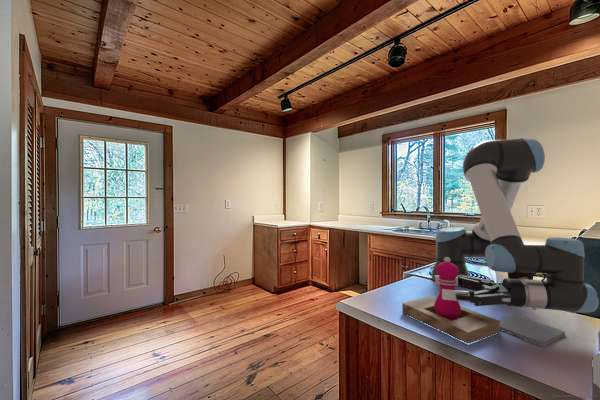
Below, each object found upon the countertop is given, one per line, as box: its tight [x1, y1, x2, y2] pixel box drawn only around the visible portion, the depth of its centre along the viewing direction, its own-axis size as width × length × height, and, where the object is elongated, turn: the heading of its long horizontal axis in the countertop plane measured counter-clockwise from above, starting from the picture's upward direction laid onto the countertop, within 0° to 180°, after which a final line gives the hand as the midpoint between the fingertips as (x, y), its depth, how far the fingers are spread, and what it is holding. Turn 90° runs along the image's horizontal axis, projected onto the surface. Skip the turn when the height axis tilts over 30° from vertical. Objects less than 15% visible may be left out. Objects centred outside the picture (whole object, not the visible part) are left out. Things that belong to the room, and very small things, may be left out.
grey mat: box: [499, 314, 566, 347], centre depth 80 cm, size 12×12×1 cm
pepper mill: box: [434, 257, 462, 321], centre depth 85 cm, size 7×7×20 cm
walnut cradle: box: [401, 295, 501, 343], centre depth 86 cm, size 22×14×4 cm, turn 26°
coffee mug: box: [507, 272, 547, 281], centre depth 109 cm, size 12×9×10 cm
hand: (438, 286), depth 86 cm, fingers open, 13 cm apart
